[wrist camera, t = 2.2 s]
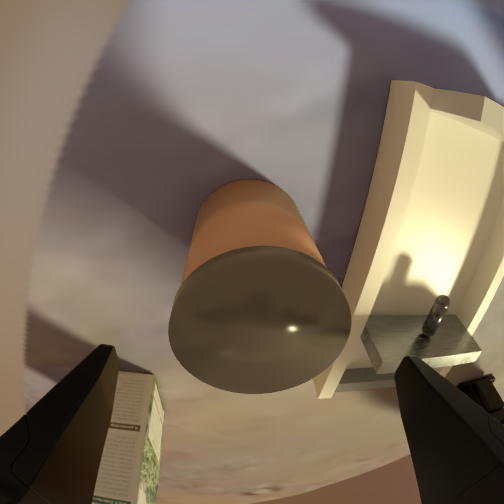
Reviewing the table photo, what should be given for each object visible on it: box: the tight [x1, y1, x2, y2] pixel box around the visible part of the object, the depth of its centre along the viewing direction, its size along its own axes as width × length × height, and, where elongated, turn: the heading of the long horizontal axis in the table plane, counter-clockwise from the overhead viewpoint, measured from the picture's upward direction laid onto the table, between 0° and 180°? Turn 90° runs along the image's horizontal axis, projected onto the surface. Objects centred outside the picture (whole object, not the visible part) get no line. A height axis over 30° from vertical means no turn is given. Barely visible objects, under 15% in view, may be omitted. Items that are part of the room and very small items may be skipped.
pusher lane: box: [313, 80, 504, 399], centre depth 16 cm, size 20×11×6 cm, turn 173°
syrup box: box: [92, 371, 165, 504], centre depth 17 cm, size 6×6×14 cm
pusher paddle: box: [360, 295, 482, 374], centre depth 17 cm, size 4×8×4 cm, turn 83°
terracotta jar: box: [168, 179, 351, 394], centre depth 13 cm, size 6×6×8 cm
